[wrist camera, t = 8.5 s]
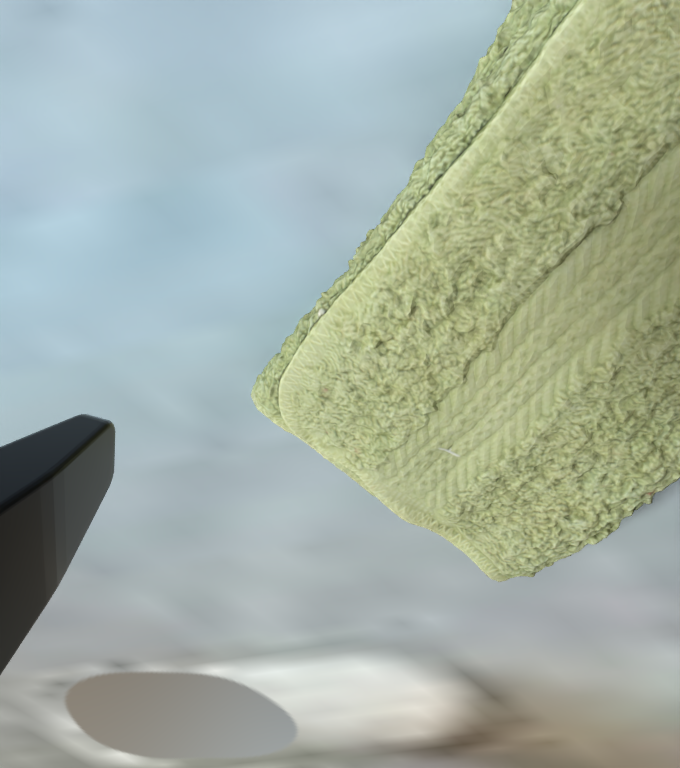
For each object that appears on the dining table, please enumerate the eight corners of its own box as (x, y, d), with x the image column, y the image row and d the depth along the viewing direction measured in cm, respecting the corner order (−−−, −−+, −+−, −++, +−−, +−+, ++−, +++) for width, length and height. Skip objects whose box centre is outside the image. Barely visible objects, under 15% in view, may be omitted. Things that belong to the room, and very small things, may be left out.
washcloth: (243, 384, 22) (215, 436, 20) (615, -156, 14) (660, -201, 11) (521, 557, 25) (532, 625, 22) (989, 192, 16) (1103, 227, 13)
